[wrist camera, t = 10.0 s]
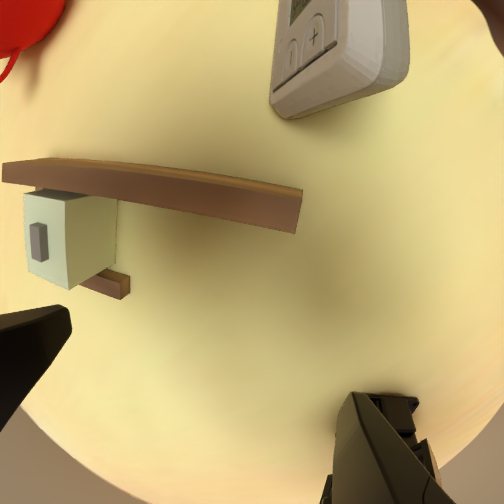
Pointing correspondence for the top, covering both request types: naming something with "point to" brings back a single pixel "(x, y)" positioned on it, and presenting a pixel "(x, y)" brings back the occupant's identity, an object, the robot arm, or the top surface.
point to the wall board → (161, 196)
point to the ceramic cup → (25, 26)
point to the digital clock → (336, 52)
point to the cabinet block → (69, 235)
